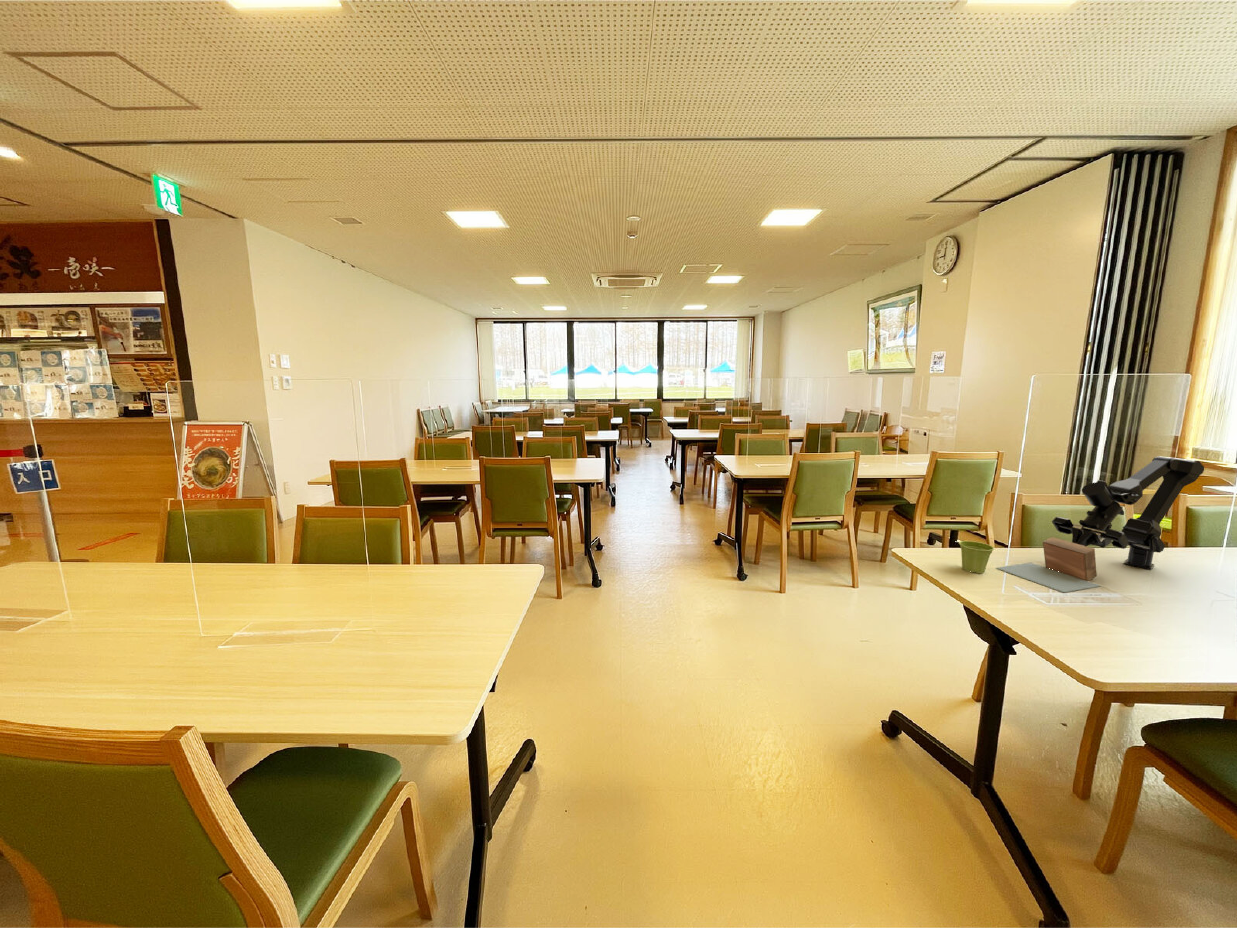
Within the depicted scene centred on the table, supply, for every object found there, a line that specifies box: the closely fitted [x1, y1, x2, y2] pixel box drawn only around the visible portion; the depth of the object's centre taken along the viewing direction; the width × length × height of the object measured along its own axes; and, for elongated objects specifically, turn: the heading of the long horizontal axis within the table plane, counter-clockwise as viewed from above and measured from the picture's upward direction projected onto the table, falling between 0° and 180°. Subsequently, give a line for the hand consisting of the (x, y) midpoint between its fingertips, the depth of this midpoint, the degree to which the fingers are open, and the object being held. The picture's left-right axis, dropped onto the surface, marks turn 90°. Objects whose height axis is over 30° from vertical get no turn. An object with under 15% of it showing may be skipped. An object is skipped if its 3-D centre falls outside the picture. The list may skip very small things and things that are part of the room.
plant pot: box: [958, 540, 995, 574], centre depth 163 cm, size 9×9×9 cm
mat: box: [996, 562, 1102, 594], centre depth 158 cm, size 16×20×1 cm
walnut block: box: [1042, 536, 1098, 582], centre depth 159 cm, size 4×12×10 cm, turn 16°
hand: (1072, 550), depth 160 cm, fingers closed
